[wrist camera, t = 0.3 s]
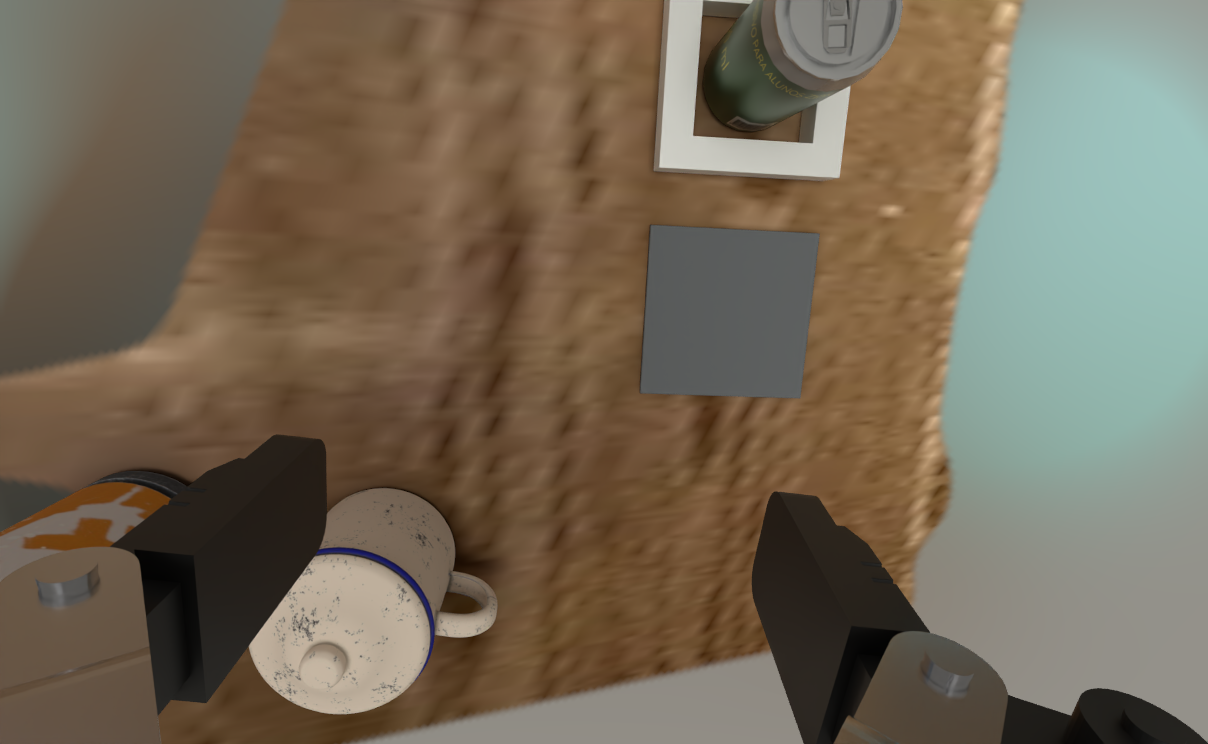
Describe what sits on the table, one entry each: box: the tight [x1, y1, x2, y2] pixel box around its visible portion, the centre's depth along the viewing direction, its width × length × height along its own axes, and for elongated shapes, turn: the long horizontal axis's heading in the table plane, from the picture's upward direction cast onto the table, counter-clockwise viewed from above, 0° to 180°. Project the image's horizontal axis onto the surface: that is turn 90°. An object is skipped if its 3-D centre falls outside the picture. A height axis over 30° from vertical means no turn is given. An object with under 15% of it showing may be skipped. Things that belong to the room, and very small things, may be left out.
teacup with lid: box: [249, 488, 498, 714], centre depth 34 cm, size 12×9×12 cm
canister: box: [0, 471, 187, 581], centre depth 29 cm, size 9×11×20 cm
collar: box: [654, 0, 851, 181], centre depth 34 cm, size 10×10×2 cm
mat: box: [640, 225, 819, 398], centre depth 38 cm, size 10×10×1 cm
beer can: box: [703, 0, 903, 132], centre depth 30 cm, size 5×5×12 cm
